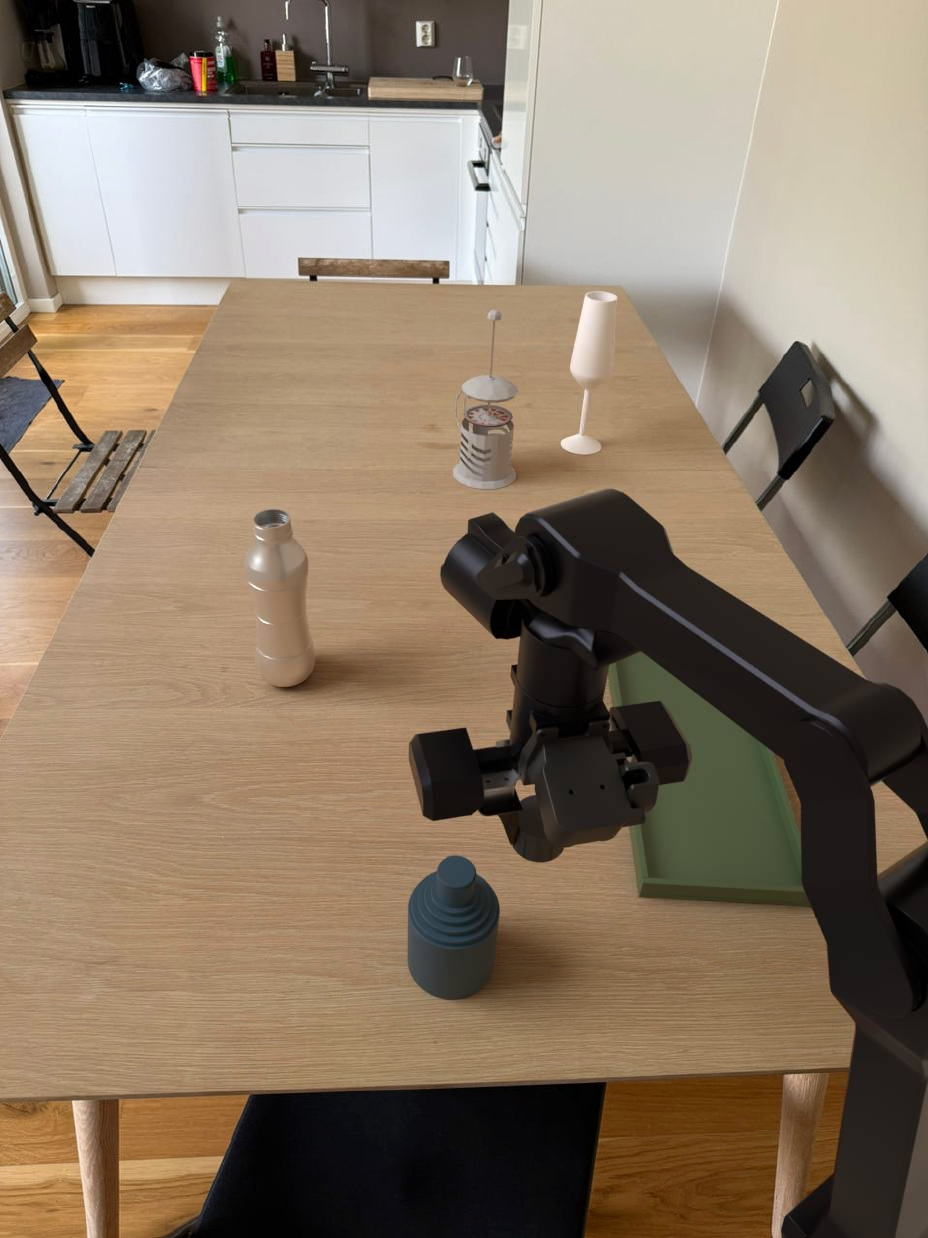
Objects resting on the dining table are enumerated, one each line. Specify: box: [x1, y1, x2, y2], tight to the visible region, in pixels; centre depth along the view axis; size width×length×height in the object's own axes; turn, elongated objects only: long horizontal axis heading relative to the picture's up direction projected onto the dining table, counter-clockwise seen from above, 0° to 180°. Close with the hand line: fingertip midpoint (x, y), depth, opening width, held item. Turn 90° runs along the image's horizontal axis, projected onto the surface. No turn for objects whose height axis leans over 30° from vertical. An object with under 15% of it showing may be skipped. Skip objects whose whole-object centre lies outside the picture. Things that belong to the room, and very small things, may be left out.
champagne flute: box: [560, 290, 618, 456], centre depth 138 cm, size 7×7×24 cm
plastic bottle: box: [243, 508, 317, 688], centre depth 92 cm, size 6×7×20 cm
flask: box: [407, 854, 501, 1000], centre depth 68 cm, size 7×7×12 cm
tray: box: [607, 651, 811, 907], centre depth 91 cm, size 35×15×2 cm, turn 178°
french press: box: [452, 309, 519, 490], centre depth 129 cm, size 10×12×25 cm
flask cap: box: [511, 794, 565, 864], centre depth 65 cm, size 4×4×3 cm
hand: (538, 835), depth 66 cm, fingers closed on flask cap, 4 cm apart
